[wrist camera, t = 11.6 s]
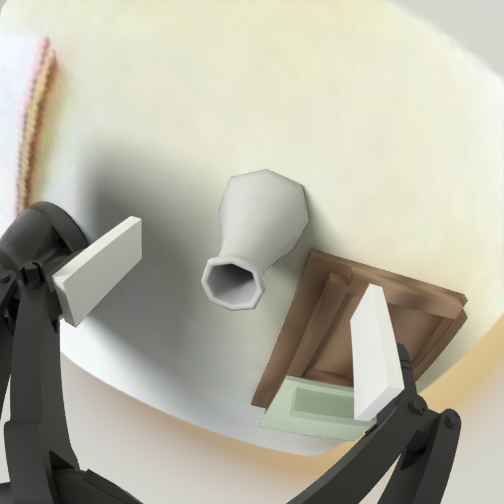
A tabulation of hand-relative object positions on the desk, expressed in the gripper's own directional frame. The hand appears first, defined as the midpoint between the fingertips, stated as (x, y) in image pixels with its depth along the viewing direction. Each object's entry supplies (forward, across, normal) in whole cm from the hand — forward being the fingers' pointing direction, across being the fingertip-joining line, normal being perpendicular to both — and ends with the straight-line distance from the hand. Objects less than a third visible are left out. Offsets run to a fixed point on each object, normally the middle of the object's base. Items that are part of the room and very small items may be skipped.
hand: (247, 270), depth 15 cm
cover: (+6, +13, -22) cm, 27 cm away
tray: (+8, +12, -14) cm, 21 cm away
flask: (+8, -1, 0) cm, 9 cm away
